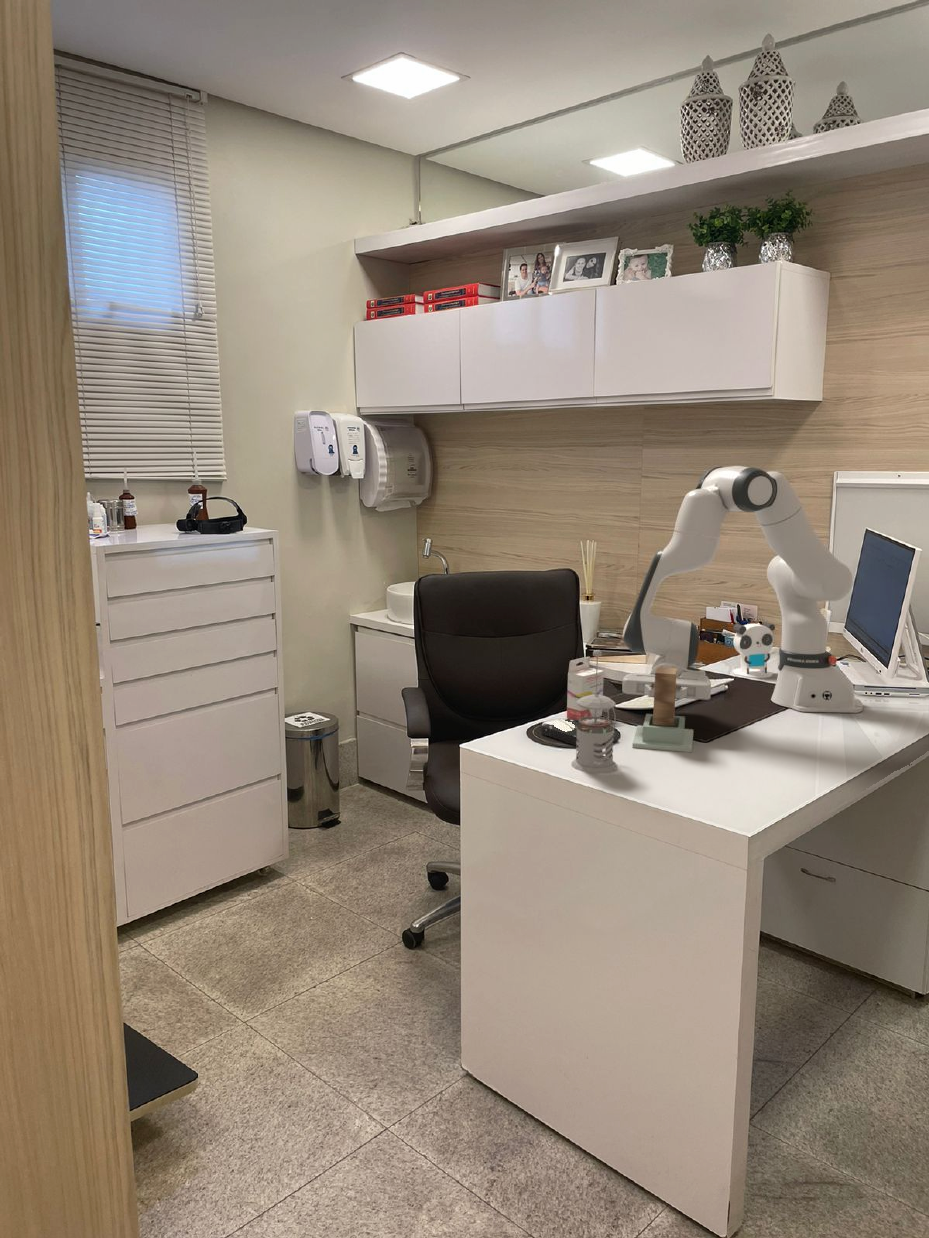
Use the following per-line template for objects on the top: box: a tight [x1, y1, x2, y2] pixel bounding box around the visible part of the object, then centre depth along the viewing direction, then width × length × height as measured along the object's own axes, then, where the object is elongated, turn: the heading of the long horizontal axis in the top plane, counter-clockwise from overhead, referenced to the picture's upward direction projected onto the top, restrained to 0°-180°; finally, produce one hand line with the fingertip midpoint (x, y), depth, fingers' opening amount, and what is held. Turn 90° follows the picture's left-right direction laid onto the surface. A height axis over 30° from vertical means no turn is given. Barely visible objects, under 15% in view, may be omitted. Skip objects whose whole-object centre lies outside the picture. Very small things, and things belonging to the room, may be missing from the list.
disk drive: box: [541, 718, 618, 747], centre depth 218 cm, size 10×3×15 cm
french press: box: [570, 649, 618, 774], centre depth 198 cm, size 10×12×25 cm
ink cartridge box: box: [566, 656, 605, 720], centre depth 233 cm, size 9×5×15 cm, turn 134°
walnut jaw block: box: [652, 667, 677, 726], centre depth 214 cm, size 4×6×12 cm
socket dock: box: [631, 713, 694, 753], centre depth 216 cm, size 13×14×4 cm
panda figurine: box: [732, 621, 776, 679], centre depth 278 cm, size 12×11×15 cm
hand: (664, 694), depth 213 cm, fingers closed on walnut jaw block, 4 cm apart
